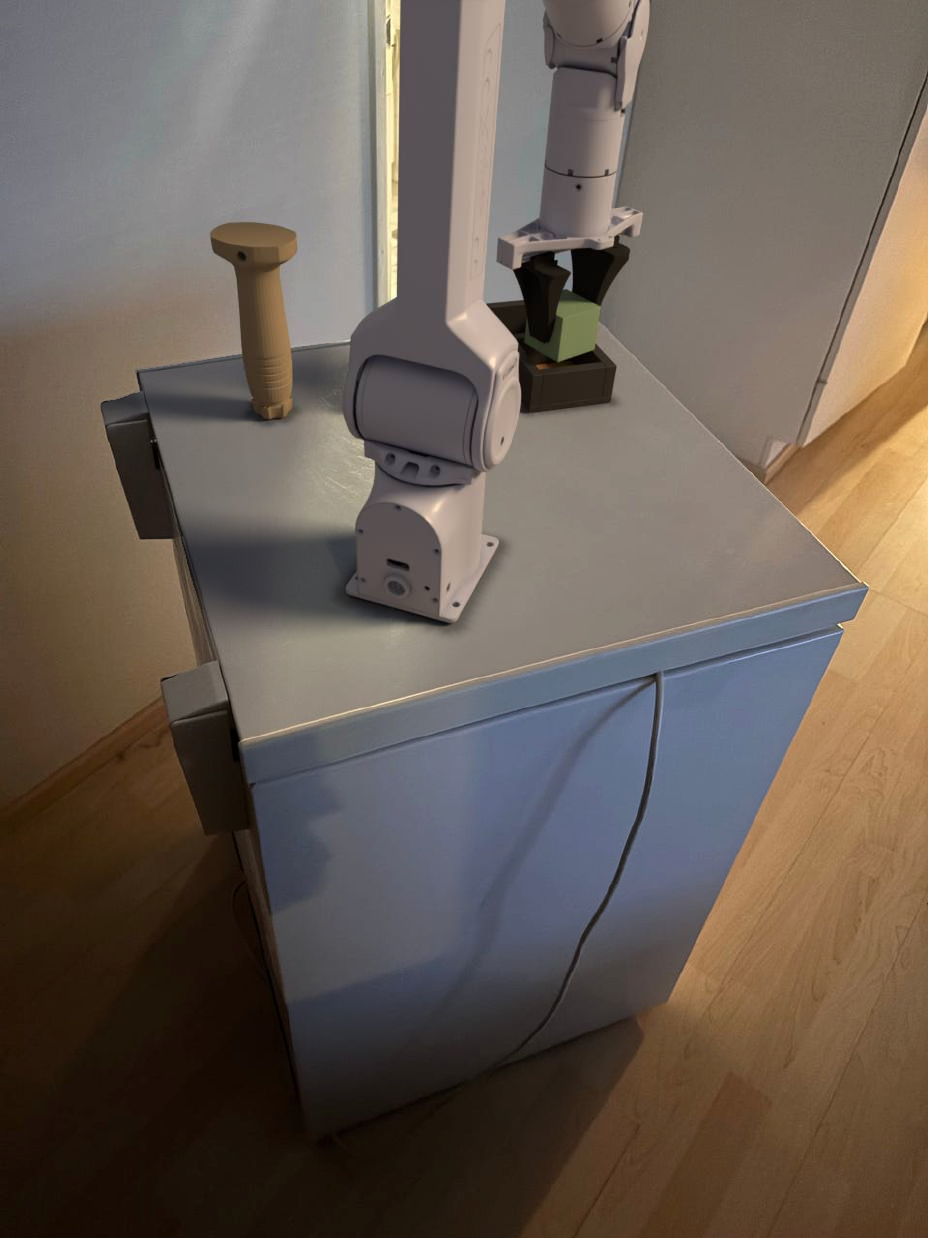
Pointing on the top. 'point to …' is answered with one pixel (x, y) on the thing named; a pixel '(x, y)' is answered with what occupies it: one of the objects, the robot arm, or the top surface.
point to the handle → (261, 308)
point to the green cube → (570, 328)
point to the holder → (555, 369)
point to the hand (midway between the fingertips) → (560, 331)
